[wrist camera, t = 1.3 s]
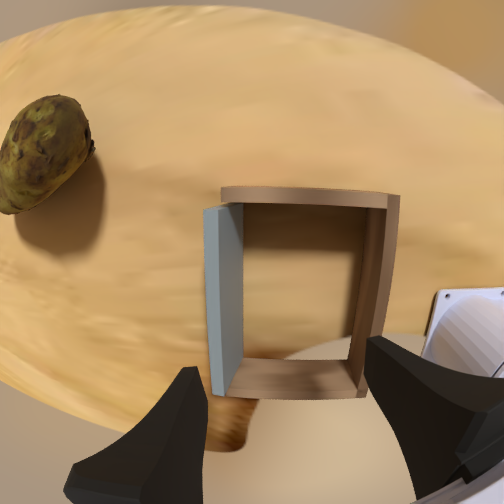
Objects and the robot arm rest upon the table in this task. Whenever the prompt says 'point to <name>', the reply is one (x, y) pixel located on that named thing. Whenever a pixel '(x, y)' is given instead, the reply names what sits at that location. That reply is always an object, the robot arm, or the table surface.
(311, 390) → the crate
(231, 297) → the flat gray panel
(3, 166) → the potato
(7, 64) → the table surface
